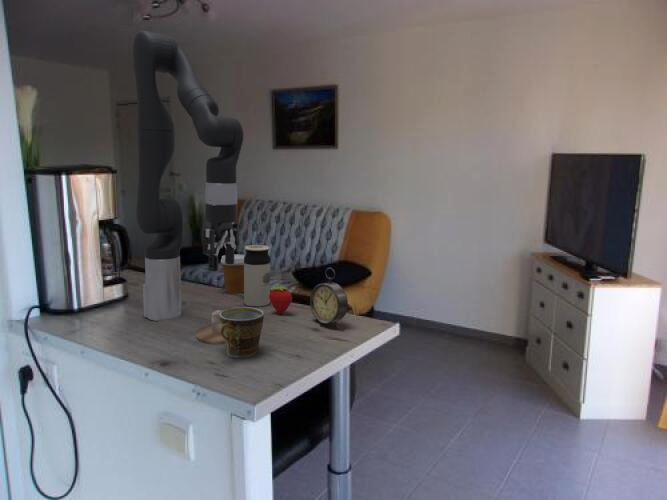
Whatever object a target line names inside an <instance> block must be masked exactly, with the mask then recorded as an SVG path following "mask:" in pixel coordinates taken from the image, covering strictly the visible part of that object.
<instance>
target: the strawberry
mask: <svg viewBox="0 0 667 500" xmlns="http://www.w3.org/2000/svg"><path fill="white" fill-rule="evenodd" d="M277 282H278V286H275V287H274V288H270V294H269V299H270V304H271V306H272V307H273V309H275V311H276V312H277V314H278V315H281V316H282V315H283V314H284V313H285V312H286V311H287V310H288V308H289V307H290V305H291V303H292V300H293V296H292V293H291V292H290V290H288V289H289V287H286V286H280V283H279V282H280V281H277Z"/></svg>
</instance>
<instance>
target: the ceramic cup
mask: <svg viewBox="0 0 667 500" xmlns="http://www.w3.org/2000/svg"><path fill="white" fill-rule="evenodd" d="M221 311H222V312H221V313H220V322H221V336H222V337H223V338H224V339H225V344H226V345H225V349H226V354H227V355H228V357H230V358H236V359H245V358H252V357H254V356H255V355H257V354H258V350H259V346H260V345H259V344H260V338H261V333H262V329H263V323H264V318H265V313H264V311H263V310H261V309H259V308H257V307H251V306H248V307H247V306H241V307H240V306H238V307H231V308H227V309H224V310H221Z"/></svg>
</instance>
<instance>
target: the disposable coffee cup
mask: <svg viewBox="0 0 667 500" xmlns="http://www.w3.org/2000/svg"><path fill="white" fill-rule="evenodd" d="M245 255H246V254H239V253H237V254H235V253H234V264H226V263H225V254H224V255H222V256H221V259H220V262H221V265H222V272H223V281H224V287H225V292H226V293H227V292H230V293H229V294H234V293H235V294H242V293H244V257H245ZM237 292H238V293H237Z"/></svg>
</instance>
